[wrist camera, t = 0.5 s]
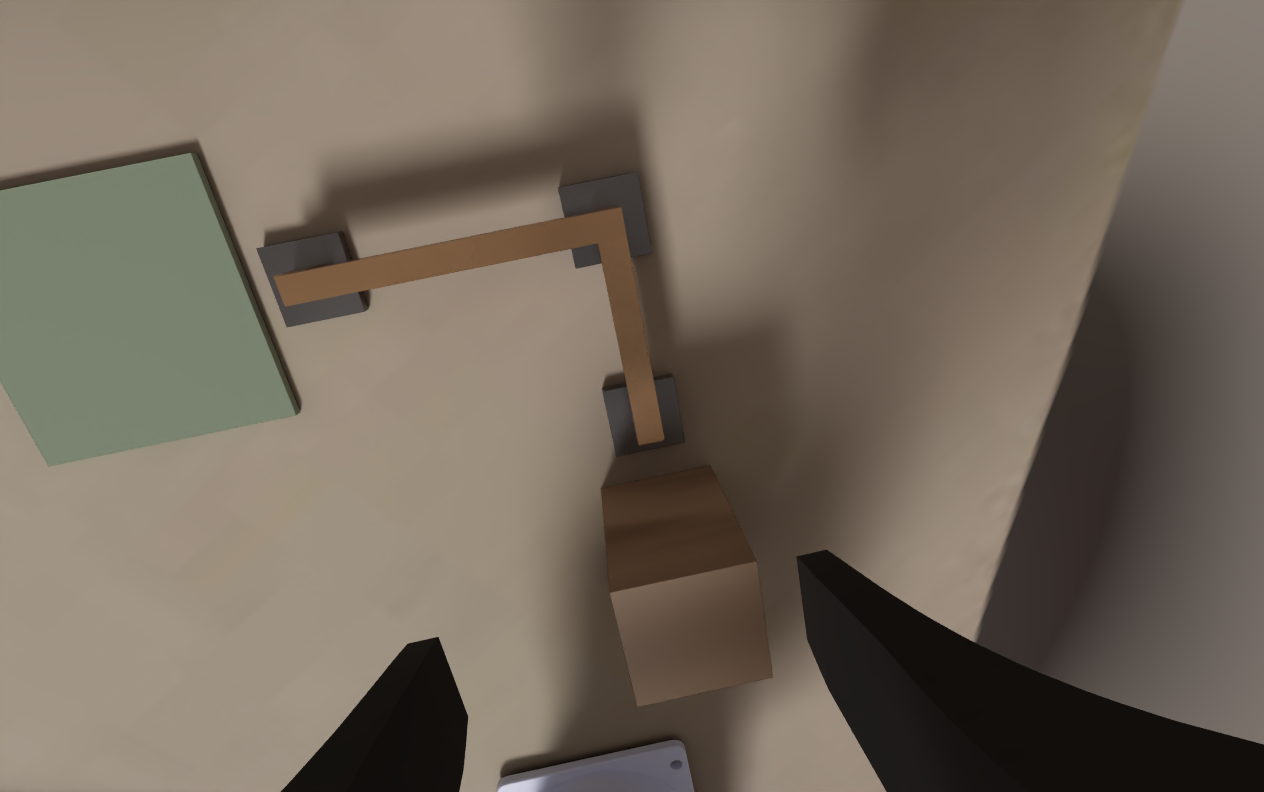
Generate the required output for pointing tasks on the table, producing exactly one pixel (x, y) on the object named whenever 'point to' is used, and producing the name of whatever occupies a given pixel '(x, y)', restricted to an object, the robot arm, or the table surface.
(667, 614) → the block
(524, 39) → the table surface
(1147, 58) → the table surface
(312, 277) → the brown angled rail
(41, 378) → the mat
